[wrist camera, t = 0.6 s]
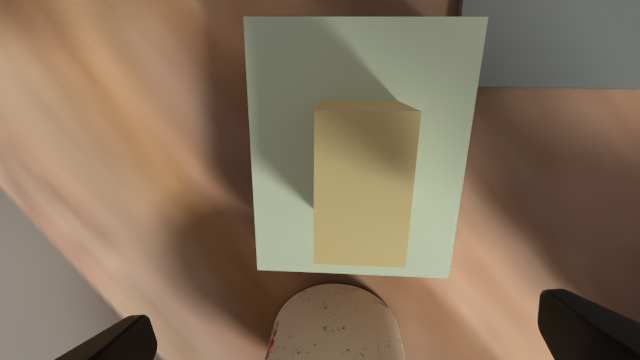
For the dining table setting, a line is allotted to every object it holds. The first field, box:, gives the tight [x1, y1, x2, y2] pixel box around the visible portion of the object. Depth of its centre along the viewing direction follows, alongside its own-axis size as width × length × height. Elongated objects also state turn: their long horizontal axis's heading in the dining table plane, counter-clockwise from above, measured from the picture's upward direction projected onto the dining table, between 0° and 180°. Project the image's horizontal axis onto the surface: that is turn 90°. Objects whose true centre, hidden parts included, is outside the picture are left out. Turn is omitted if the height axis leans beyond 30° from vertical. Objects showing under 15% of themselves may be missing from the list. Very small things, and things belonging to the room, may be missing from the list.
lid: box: [243, 16, 488, 278], centre depth 13 cm, size 9×11×6 cm
